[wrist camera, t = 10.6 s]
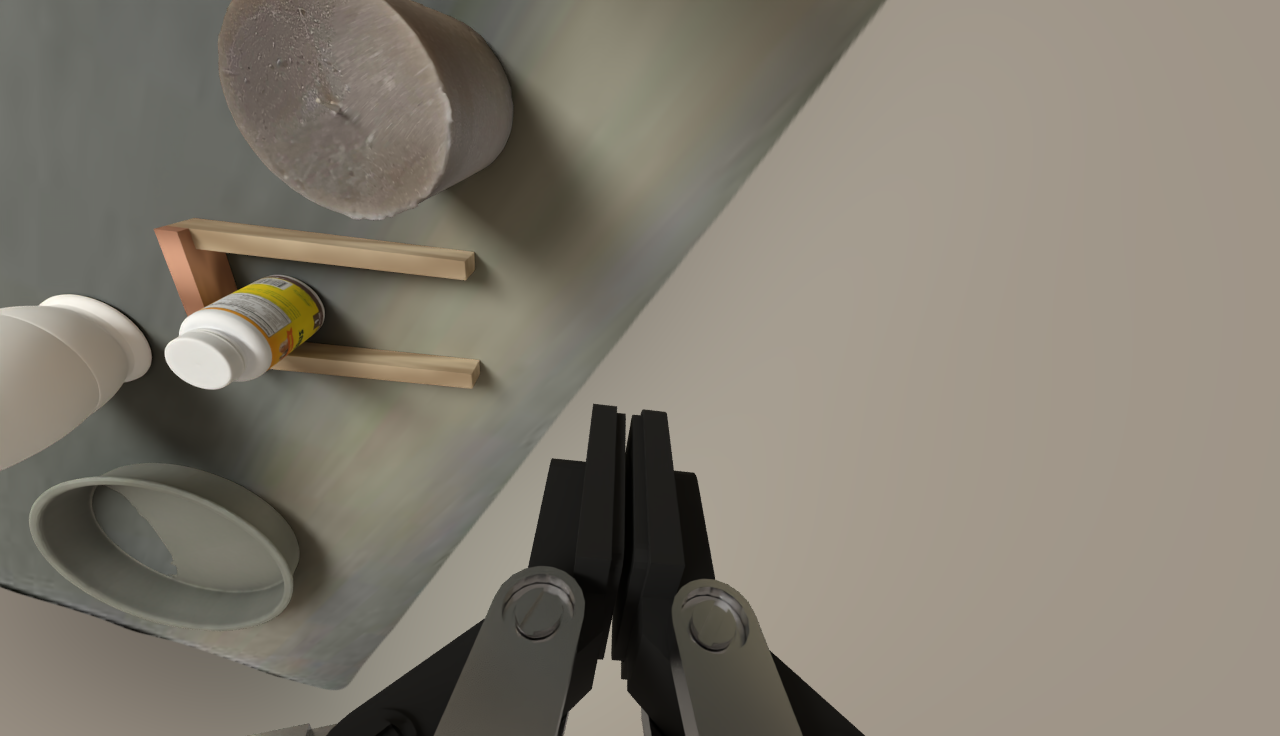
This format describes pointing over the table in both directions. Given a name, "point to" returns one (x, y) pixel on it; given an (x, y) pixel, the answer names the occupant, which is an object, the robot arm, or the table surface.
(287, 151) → the pillar candle
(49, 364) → the jar
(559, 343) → the table surface
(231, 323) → the supplement bottle
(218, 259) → the channel
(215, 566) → the cake pan
